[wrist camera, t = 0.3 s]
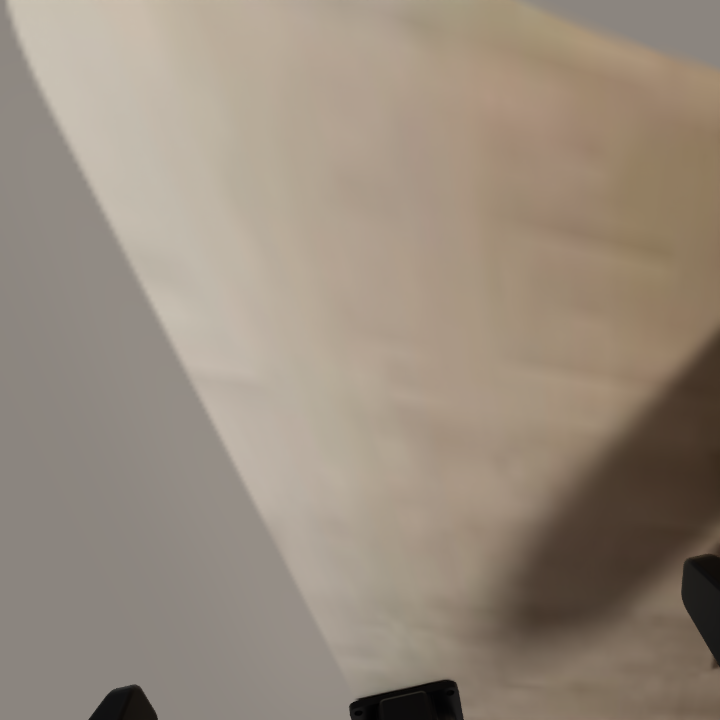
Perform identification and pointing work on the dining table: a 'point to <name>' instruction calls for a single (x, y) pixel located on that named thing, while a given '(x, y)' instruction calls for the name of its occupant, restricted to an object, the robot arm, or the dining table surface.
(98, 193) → the dining table surface
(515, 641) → the dining table surface
